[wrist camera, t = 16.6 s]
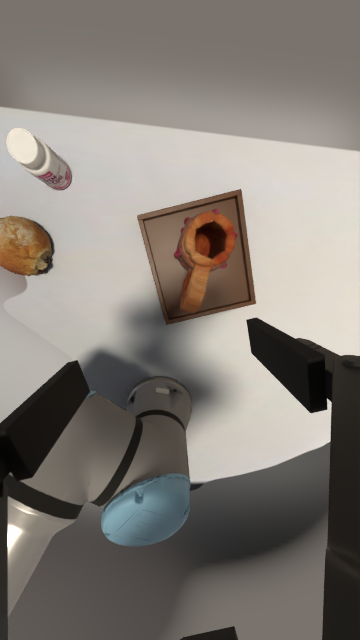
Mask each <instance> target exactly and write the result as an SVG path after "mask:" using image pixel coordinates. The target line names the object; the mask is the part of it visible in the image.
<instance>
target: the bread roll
mask: <svg viewBox="0 0 360 640" xmlns="http://www.w3.org/2000/svg"><path fill="white" fill-rule="evenodd" d="M51 254H52V250H51V243H50V239H49V236H48V234H46V232H45V231H44V230H43V229H42V228H40V227H39V226H38V225H37V224H36V223H35V222H33V221H31V220H29V219H27V218H23V217H16V216H9V217H6V218H0V266H1V267H3V268H5V269H7V270H8V271H10V272H14V273H15V274H21V275H27V276H30V275H34V274H38V273H39V274H43V273H45V272H46V267H47V266H48V265H49V263H50V257H51Z"/></svg>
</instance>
